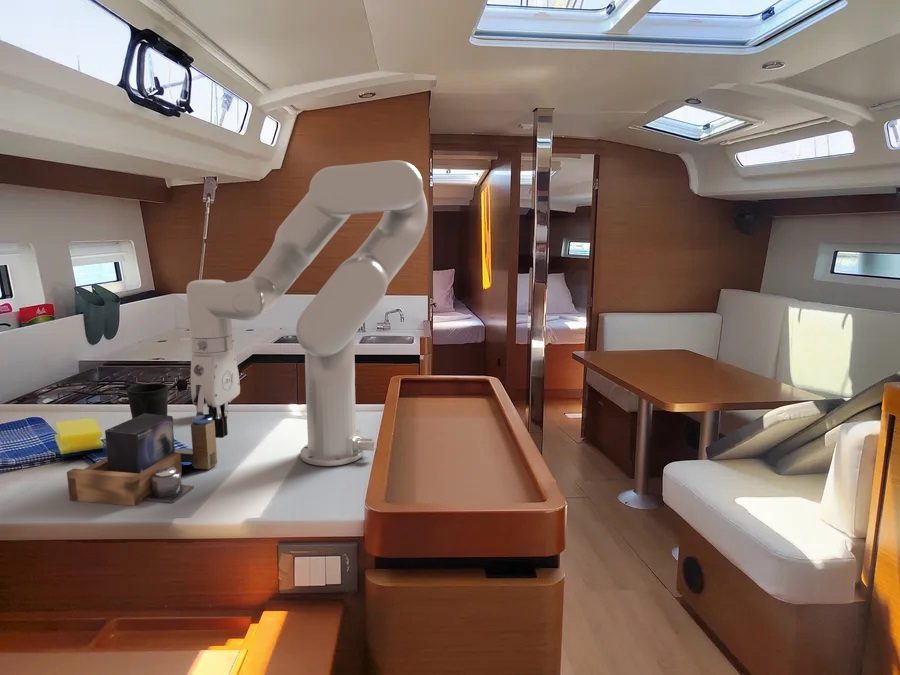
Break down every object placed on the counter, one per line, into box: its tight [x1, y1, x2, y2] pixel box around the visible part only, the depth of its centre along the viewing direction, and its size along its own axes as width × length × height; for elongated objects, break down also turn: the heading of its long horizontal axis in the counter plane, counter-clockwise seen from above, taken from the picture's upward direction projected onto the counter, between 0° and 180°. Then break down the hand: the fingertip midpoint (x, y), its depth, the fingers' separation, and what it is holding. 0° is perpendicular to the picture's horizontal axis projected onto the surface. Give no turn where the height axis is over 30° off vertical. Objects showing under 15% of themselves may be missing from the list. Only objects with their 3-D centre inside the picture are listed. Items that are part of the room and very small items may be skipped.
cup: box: [126, 382, 169, 419], centre depth 126 cm, size 8×8×12 cm
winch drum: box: [142, 467, 195, 504], centre depth 102 cm, size 6×6×4 cm
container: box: [175, 415, 218, 470], centre depth 114 cm, size 14×4×10 cm, turn 81°
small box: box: [104, 413, 176, 474], centre depth 109 cm, size 11×6×10 cm, turn 170°
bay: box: [66, 453, 183, 507], centre depth 105 cm, size 12×13×5 cm
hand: (218, 436), depth 118 cm, fingers closed
